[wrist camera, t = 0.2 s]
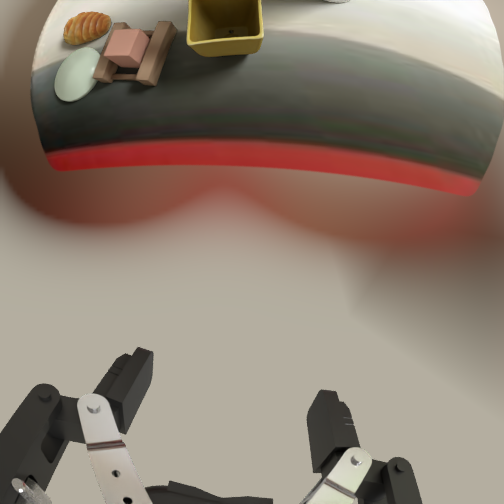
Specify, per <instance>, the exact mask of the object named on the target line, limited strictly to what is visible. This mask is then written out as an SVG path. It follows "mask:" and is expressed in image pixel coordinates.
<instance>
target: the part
mask: <svg viewBox="0 0 504 504" xmlns="http://www.w3.org/2000/svg"><path fill="white" fill-rule="evenodd" d="M149 42H150V39H149V38H148V37H147V35H146V34H145V33H144V32H143V31H142V30H141V29H123V30H114V32H113V34H112V37H111V39H110V41H109V44H108V46H107V48H106V51H105V53H104V56H105V57H106V58H108V59H109V60H111V61H113V62H114V63H116V64H117V65H119V66H121V67H125V68H140V66H141V63H142V60H143V58H144V55H145V52H146V50H147V47H148V45H149Z"/></svg>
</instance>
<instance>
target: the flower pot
mask: <svg viewBox="0 0 504 504" xmlns="http://www.w3.org/2000/svg"><path fill="white" fill-rule="evenodd" d="M230 31H233V33H230ZM263 36H264V32H263V20H262V5H261V0H188V26H187V45H188V46H190V47H191V48H192V49H193V50H194V51H196V52H197V53H198V54H199V55H201V56H204V57H217V56H227V55H241V54H253V53H256V52H257V51H258V50H259V49H260V47H261V43H262V40H263Z"/></svg>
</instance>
